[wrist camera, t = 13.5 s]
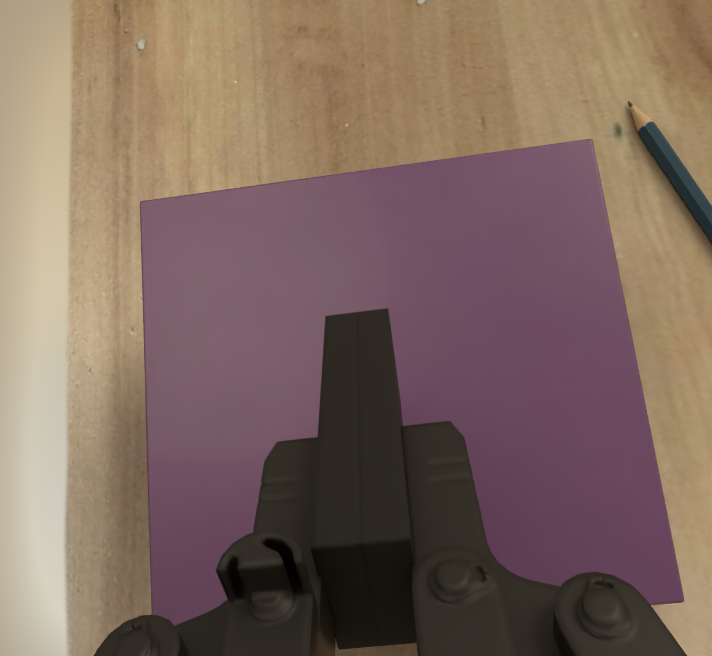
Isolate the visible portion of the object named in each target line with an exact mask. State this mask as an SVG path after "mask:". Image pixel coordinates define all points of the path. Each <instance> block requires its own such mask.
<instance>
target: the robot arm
mask: <svg viewBox="0 0 712 656" xmlns="http://www.w3.org/2000/svg"><path fill="white" fill-rule="evenodd" d="M216 573H217V575H218V577H219V580H220V582H221V585H222V587H223V589H224V592H225V594H226V596H227V600H226V601H225V602H223V603H222V604H221V605H220V606H218V607H216V608H214V609H212V610H211V611H209V612H207V613H204V614H202V615H200V616H197V617H195V618H192V619H190V620H187V621H185V622H182V623H180V624H177V625H175V626H174V625H173V624H172V622H171V621H170V620H169V619H166V618H164V617H161V616H159V615H144V616H139V617H137V618H134V619H132V620H129V621H127V622H124V623H123V624H122V625H120V626H119V627H118V628H117V629H115V630H114V631H113V632H111V633H110V634H109V635H108V636H107V638H106V639H105V640H104V642H103V643H102V644H101V645H100V647H99V648H98V649H97V651H96V653H95V655H94V656H335V637H336V641H337V644H338V648H339V649H349V648H361V647H372V646H384V645H395V644H407V643H417V651H418V656H687V655H686V654H685V652H684V651H683V650H682V648H681V647H680V645H679V644H678V643H677V641H676V640H675V638H674V637H673V636H672V634H671V633H670V632H669V630H668V629H667V627H666V626H665V625H664V623H663V622H662V620H661V619H660V618H659V616H658V615H657V614H656V612H655V611H654V609H653V608H652V607H651V605H650V604H649V603H648V601H647V600H646V598H645V597H644V596H643V595H642V594H641V593H640V592H639V591H638V590H637V589H636V588H635V587H634V586H633V585H631V584H630V583H628V582H626V581H624V580H622V579H620V578H618V577H616V576H614V575H610V574H605V573H600V572H588V573H581V574H577V575H575V576H573V577H572V578H570V579H568V580H566V581H565V582H564V583H563V584H562V586H556V585H551V584H546V583H541V582H537V581H532V580H529V579H526V578H523V577H520V576H518V575H516V574H514V573H512V572H511V571H509V570H507V569H506V568H505V567H504V566H503V565H501V564H500V563H499V562H498V561H497V559H496V558H495V557H494V555H493V554H492V552H491V550H490V548H489V545H488V542H487V539H486V534H485V529H484V525H483V520H482V516H481V511H480V507H479V502H478V497H477V493H476V488H475V484H474V479H473V474H472V470H471V465H470V462H469V456H468V451H467V447H466V442H465V438H464V436H463V435H462V434H461V433H460V432H459V431H458V429H457V428H456V427H455V426H454V425H453V423H452V422H451V421H443V422H434V423H425V424H416V425H407V426H403V419H402V409H401V399H400V392H399V384H398V377H397V369H396V362H395V355H394V347H393V340H392V332H391V325H390V318H389V310H388V308H385V309H377V310H369V311H361V312H353V313H345V314H337V315H329V316H325V329H324V345H323V360H322V376H321V391H320V406H319V422H318V437H313V438H304V439H295V440H287V441H278V442H277V443H276V444H275V446H274V447H273V449H272V450H271V452H270V453H269V455H268V456H267V458H266V459H265V461H264V466H263V472H262V478H261V486H260V491H259V497H258V504H257V509H256V516H255V522H254V528H253V533H249V534H247V535H245V536H244V537H242V538H240V539H239V540H237V541H235V542H234V543H232V545H231V546H230V547H229V548H228V549H227V550H226V551H225V552H224V553H223V555H222V556H221V558H220V561H219V563H218V565H217V568H216Z"/></svg>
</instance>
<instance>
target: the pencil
mask: <svg viewBox="0 0 712 656" xmlns="http://www.w3.org/2000/svg"><path fill="white" fill-rule="evenodd" d="M628 104H629V107H630V110H631V113H632V116H633V120H634V123H635V126H636V129H637V132H638V133H639V135H640V137H641V138H642V140H643V141H644V143H645V144H646V146H647V147H648V149H649V150H650V152H651V153H652V155H653V156H654V158H655V159H656V161H657V162H658V164H659V165H660V167H661V168H662V170H663V171H664V173H665V174H666V176H667V177H668V178H669V180H670V181H671V183H672V184H673V186H674V187H675V189H676V190H677V192H678V193H679V195H680V196H681V198H682V199H683V201H684V202H685V204H686V205H687V207H688V208H689V210H690V211H691V213H692V214H693V215H694V217H695V218H696V220H697V221H698V223H699V224H700V226H701V227H702V229H703V230H704V232H705V233H706V235H707V236H708V238H709V239H710V241H711V242H712V206H711V204H710V203H709V201H708V200H707V198H706V197H705V195H704V194H703V193H702V191H701V190H700V188H699V187H698V185H697V184H696V182H695V181H694V179H693V178H692V177H691V175H690V174H689V172H688V171H687V169H686V168H685V166H684V165H683V163H682V162H681V161H680V159H679V158H678V156H677V155H676V153H675V152H674V150H673V149H672V147H671V146H670V145H669V143H668V142H667V140H666V139H665V137H664V136H663V134H662V133H661V132H660V130H659V129H658V127H657V126H656V125H655V123H654V122H653V121H652V120H651V119H650V118H649V117H648V116H646V115H645V114H644V113H642V112H641V111H640V110H639V109H637V108H636V107H635V106H634V105H632V104H631V103H630V102H629V101H628Z"/></svg>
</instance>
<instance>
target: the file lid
mask: <svg viewBox="0 0 712 656" xmlns="http://www.w3.org/2000/svg"><path fill="white" fill-rule="evenodd" d="M140 220H141V254H142V289H143V324H144V359H145V394H146V429H147V464H148V499H149V533H150V568H151V603H152V615H159V616H161V617H164V618H166V619H169V620H170V621H171V622H172V624H173V625H174V626H175V625H177V624H180V623H182V622H185V621H187V620H190V619H192V618H195V617H197V616H200V615H202V614H204V613H207V612H209V611H211V610H212V609H214V608H216V607H218V606H220V605H221V604H222V603H223V602H225V601H226V600H227V596H226V594H225V592H224V589H223V587H222V585H221V582H220V580H219V577H218V575H217V573H216V568H217V565H218V563H219V561H220V558H221V556H222V555H223V553H224V552H225V551H226V550H227V549H228V548H229V547H230V546H231V545H232V543H234V542H235V541H237V540H239V539H240V538H242V537H244V536H245V535H247V534H249V533H253V528H254V522H255V516H256V509H257V504H258V497H259V491H260V486H261V478H262V472H263V466H264V461H265V459H266V458H267V456H268V455H269V453H270V452H271V450H272V449H273V447H274V446H275V444H276V443H277V442H278V441H287V440H295V439H304V438H313V437H318V422H319V406H320V391H321V376H322V360H323V345H324V329H325V316H329V315H337V314H345V313H353V312H361V311H369V310H377V309H385V308H388V310H389V318H390V325H391V332H392V340H393V347H394V355H395V362H396V369H397V377H398V384H399V392H400V399H401V409H402V419H403V426H407V425H416V424H425V423H434V422H443V421H451V422H452V423H453V425H454V426H455V427H456V428H457V429H458V431H459V432H460V433H461V434H462V435H463V436H464V438H465V442H466V447H467V451H468V456H469V462H470V465H471V470H472V474H473V479H474V484H475V488H476V493H477V497H478V502H479V507H480V511H481V516H482V520H483V525H484V529H485V534H486V539H487V542H488V545H489V548H490V550H491V552H492V554H493V555H494V557H495V558H496V559H497V561H498V562H499V563H500V564H501V565H503V566H504V567H505V568H506V569H507V570H509V571H511V572H512V573H514V574H516V575H518V576H520V577H523V578H526V579H529V580H532V581H537V582H541V583H546V584H551V585H556V586H562V584H563V583H564V582H565V581H566V580H568V579H570V578H572V577H573V576H575V575H577V574H581V573H588V572H600V573H605V574H610V575H614V576H616V577H618V578H620V579H622V580H624V581H626V582H628V583H630V584H631V585H633V586H634V587H635V588H636V589H637V590H638V591H639V592H640V593H641V594H642V595H643V596H644V597H645V598H646V600H647V601H648V603H649V604H650V605H658V604H670V603H682V602H684V596H683V591H682V586H681V581H680V576H679V570H678V565H677V560H676V555H675V550H674V545H673V540H672V535H671V530H670V525H669V520H668V515H667V510H666V505H665V500H664V495H663V490H662V485H661V480H660V475H659V470H658V465H657V460H656V455H655V450H654V445H653V440H652V435H651V430H650V425H649V420H648V415H647V410H646V405H645V400H644V395H643V390H642V385H641V380H640V375H639V370H638V365H637V360H636V355H635V350H634V345H633V340H632V335H631V330H630V325H629V320H628V315H627V310H626V305H625V300H624V295H623V290H622V285H621V280H620V275H619V270H618V265H617V260H616V255H615V250H614V245H613V240H612V235H611V230H610V225H609V220H608V215H607V210H606V205H605V200H604V195H603V190H602V185H601V180H600V175H599V170H598V165H597V160H596V154H595V149H594V144H593V140H592V139H586V140H579V141H572V142H565V143H558V144H550V145H543V146H536V147H529V148H522V149H514V150H507V151H500V152H493V153H486V154H478V155H471V156H464V157H457V158H450V159H443V160H435V161H428V162H421V163H414V164H407V165H399V166H392V167H385V168H378V169H371V170H363V171H356V172H349V173H342V174H335V175H328V176H320V177H313V178H306V179H299V180H292V181H284V182H277V183H270V184H263V185H256V186H248V187H241V188H234V189H227V190H220V191H213V192H205V193H198V194H191V195H184V196H177V197H169V198H162V199H155V200H148V201H141V202H140Z"/></svg>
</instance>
